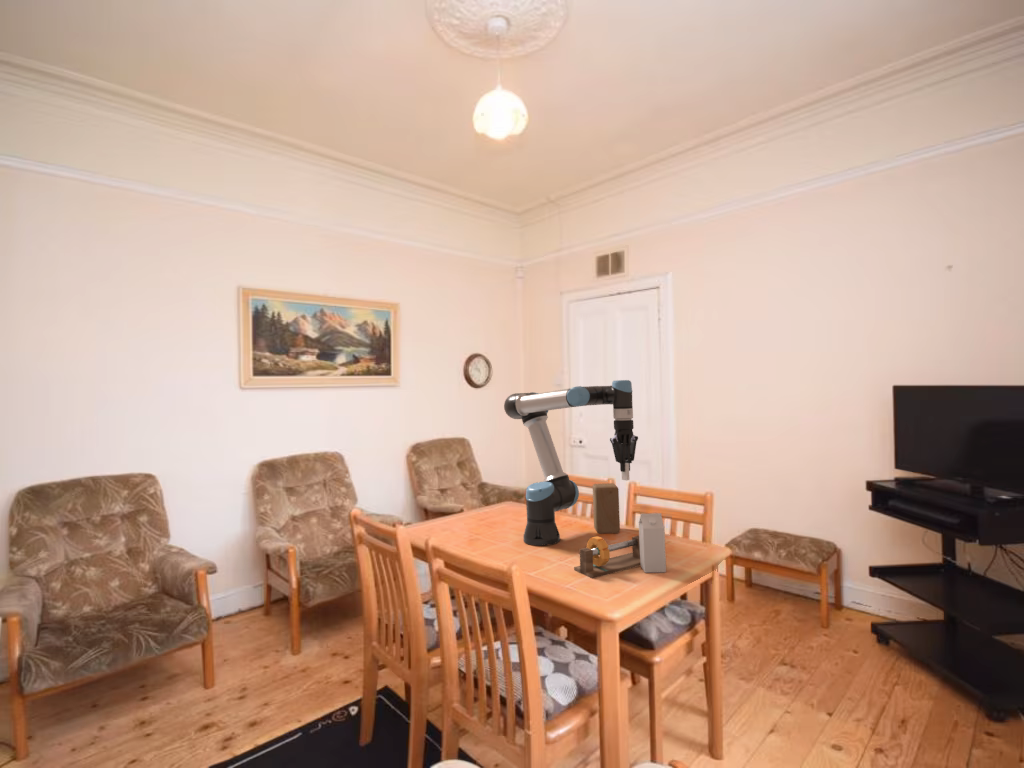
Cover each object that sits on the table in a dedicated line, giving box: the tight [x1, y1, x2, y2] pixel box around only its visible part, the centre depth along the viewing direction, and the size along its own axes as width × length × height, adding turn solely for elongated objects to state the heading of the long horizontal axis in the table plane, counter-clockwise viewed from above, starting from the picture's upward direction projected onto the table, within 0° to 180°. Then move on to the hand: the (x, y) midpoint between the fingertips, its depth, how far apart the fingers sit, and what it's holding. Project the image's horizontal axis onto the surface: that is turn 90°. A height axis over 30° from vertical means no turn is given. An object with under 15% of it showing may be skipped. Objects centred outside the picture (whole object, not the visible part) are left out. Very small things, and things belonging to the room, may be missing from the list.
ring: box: [586, 535, 611, 566], centre depth 176 cm, size 9×2×9 cm, turn 30°
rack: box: [573, 535, 641, 579], centre depth 180 cm, size 10×27×8 cm, turn 120°
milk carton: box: [638, 512, 667, 574], centre depth 175 cm, size 7×7×19 cm
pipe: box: [591, 539, 638, 556], centre depth 180 cm, size 3×24×3 cm, turn 121°
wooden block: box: [592, 482, 621, 535], centre depth 225 cm, size 10×10×20 cm
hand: (625, 479), depth 201 cm, fingers closed
